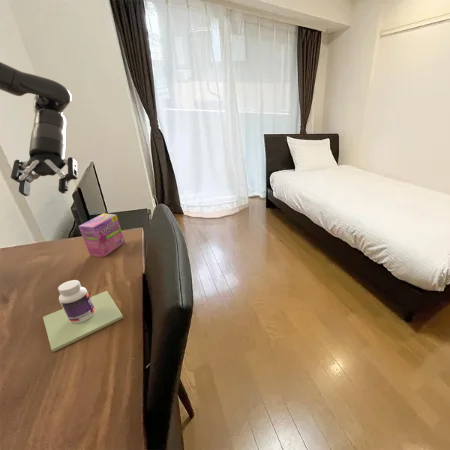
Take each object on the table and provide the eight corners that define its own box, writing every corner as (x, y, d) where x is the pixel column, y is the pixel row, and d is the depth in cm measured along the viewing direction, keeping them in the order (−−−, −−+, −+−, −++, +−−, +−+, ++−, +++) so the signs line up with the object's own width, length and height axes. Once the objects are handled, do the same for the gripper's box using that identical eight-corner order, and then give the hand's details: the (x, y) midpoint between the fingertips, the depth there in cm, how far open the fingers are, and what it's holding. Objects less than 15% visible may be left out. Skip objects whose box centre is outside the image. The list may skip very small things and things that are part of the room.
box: (104, 257, 94) (92, 227, 88) (89, 256, 94) (77, 225, 89) (126, 242, 103) (116, 214, 98) (112, 241, 104) (102, 213, 98)
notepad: (52, 352, 60) (51, 350, 59) (43, 319, 68) (42, 316, 68) (123, 318, 69) (122, 315, 68) (107, 292, 77) (106, 290, 77)
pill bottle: (100, 313, 69) (87, 282, 65) (75, 327, 65) (60, 295, 61) (89, 305, 72) (76, 275, 67) (65, 318, 67) (49, 287, 63)
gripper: (8, 136, 74) (0, 189, 69) (70, 134, 77) (66, 185, 72) (28, 152, 81) (22, 201, 76) (83, 150, 84) (81, 197, 79)
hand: (43, 193), depth 74 cm, fingers open, 8 cm apart
